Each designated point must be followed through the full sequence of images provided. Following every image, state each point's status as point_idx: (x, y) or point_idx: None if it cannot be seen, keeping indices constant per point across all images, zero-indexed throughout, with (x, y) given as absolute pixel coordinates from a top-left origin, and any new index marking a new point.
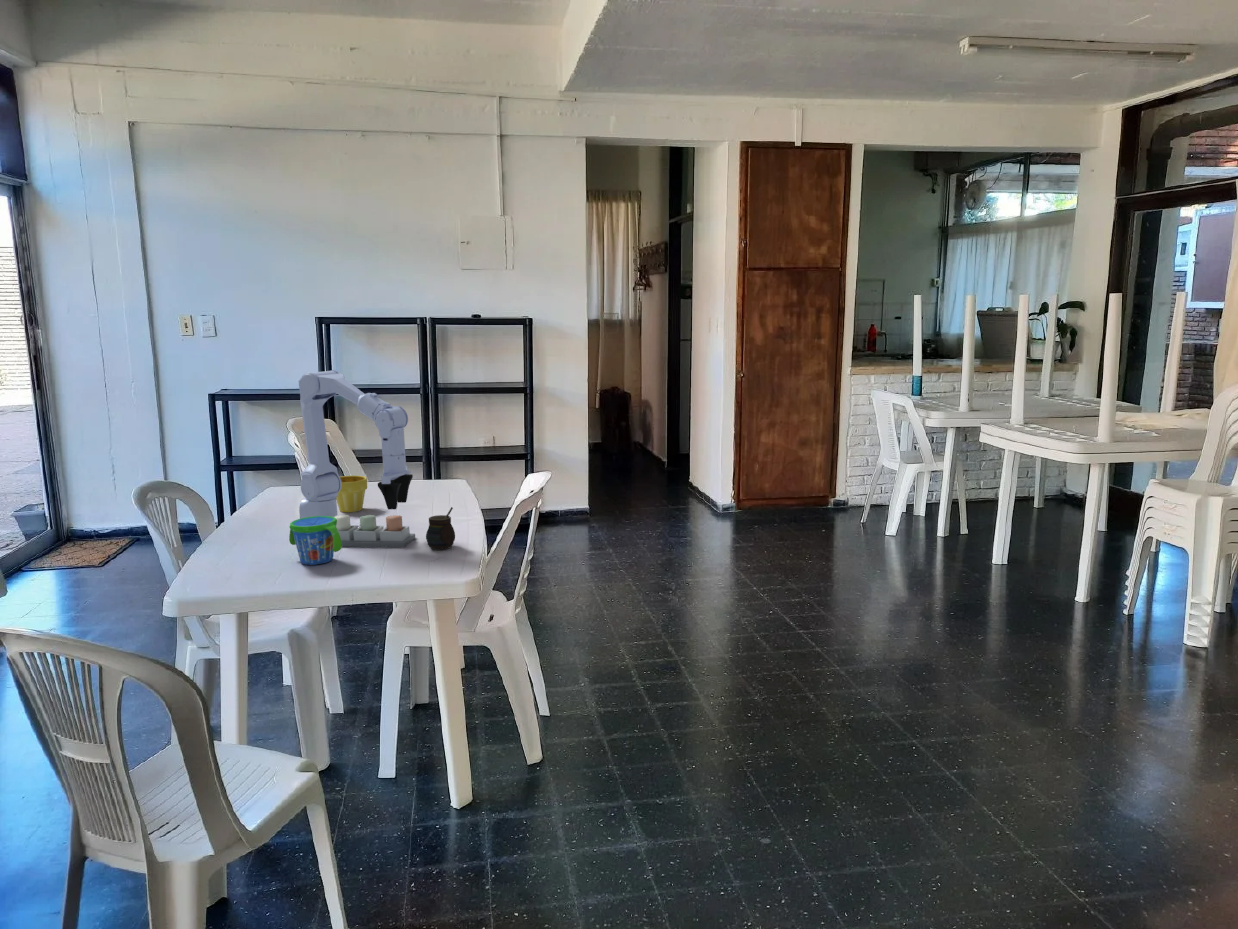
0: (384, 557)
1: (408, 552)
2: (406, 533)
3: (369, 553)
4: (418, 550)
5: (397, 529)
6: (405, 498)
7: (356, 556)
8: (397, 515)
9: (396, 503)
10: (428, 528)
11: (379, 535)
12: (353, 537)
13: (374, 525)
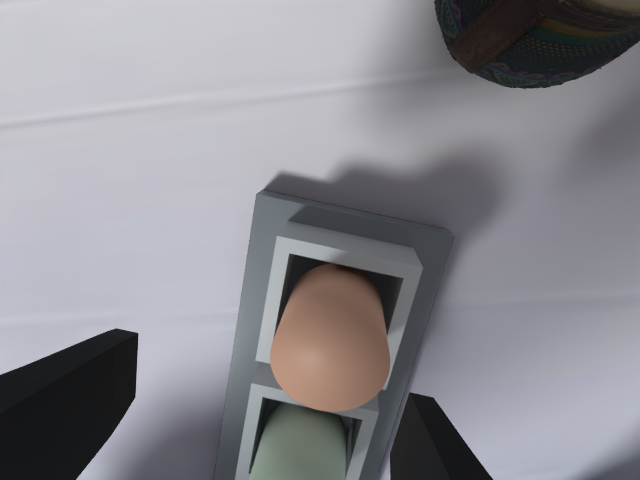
0: (609, 304)
1: (554, 193)
2: (338, 238)
3: (508, 375)
4: (529, 141)
5: (377, 299)
6: (111, 355)
7: (542, 421)
8: (274, 342)
9: (461, 437)
10: (599, 48)
11: None
12: None
13: (321, 436)
